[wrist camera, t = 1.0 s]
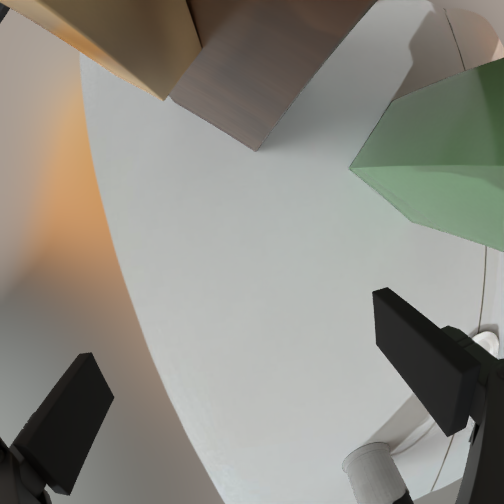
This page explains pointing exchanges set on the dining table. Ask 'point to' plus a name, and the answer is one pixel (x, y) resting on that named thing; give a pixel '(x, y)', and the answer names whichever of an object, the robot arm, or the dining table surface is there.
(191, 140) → the dining table surface
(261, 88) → the stand
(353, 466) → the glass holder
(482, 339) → the candle holder
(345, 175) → the dining table surface
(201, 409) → the dining table surface
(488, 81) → the green stand
